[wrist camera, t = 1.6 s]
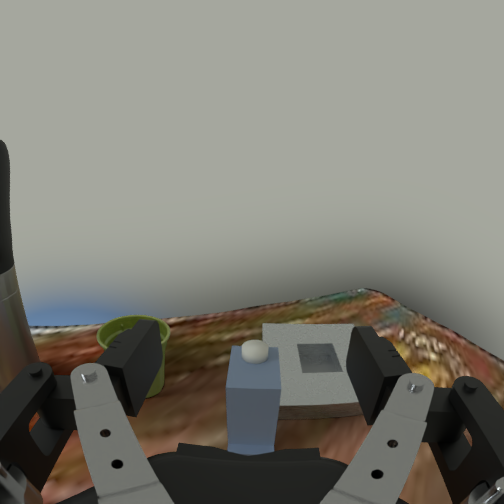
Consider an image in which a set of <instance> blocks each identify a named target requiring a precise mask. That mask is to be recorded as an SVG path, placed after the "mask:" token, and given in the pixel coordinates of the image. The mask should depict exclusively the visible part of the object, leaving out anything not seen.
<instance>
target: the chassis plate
mask: <svg viewBox="0 0 504 504" xmlns="http://www.w3.org/2000/svg"><path fill="white" fill-rule="evenodd" d="M353 327H355V326H354V325H353V324H266V323H263V327H262V341H263V342H265V343H266V344H267V345H268V347H278V351H279V364H280V377H281V397H280V405H279V413H278V419H279V420H283V419H319V418H335V417H347V416H357V415H364V414H363V412H362V409H361V407H360V404H359V401H358V399H357V396H356V394H355V391H354V389H353V386H352V384H351V381H350V378H349V376H348V373H347V370H346V358H347V353H348V348H349V342H350V337H351V332H352V329H353Z"/></svg>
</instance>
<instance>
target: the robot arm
mask: <svg viewBox="0 0 504 504" xmlns="http://www.w3.org/2000/svg"><path fill="white" fill-rule="evenodd" d="M9 196H10V162H9V154H8V150H7V147H6V145H5V143H4V142H3V141H2V140H0V504H43V498H42V496H41V494H40V493H41V491H42V489H43V487H44V485H45V483H46V481H47V479H48V477H49V475H50V473H51V471H52V469H53V467H54V465H55V463H56V461H57V460H58V458H59V456H60V454H61V452H62V450H63V448H64V446H65V445H66V443H67V441H68V439H69V437H70V435H71V434H72V432H73V430H78V433H79V437H80V441H81V445H82V448H83V452H84V455H85V459H86V462H87V465H88V469H89V472H90V475H91V478H92V481H93V484H94V486H93V487H91V488H89V489H87V490H85V491H83V492H81V493H79V494H77V495H74V496H72V497H70V498H68V499H66V500H63V501H61V502H59V503H56V504H409V503H407V502H405V501H404V500H402V499H400V498H399V495H400V493H401V491H402V489H403V486H404V484H405V482H406V480H407V477H408V475H409V473H410V470H411V468H412V465H413V463H414V460H415V457H416V455H417V452H418V449H419V447H420V444H421V442H428V444H429V446H430V448H431V450H432V453H433V455H434V457H435V460H436V462H437V465H438V467H439V469H440V472H441V474H442V477H443V479H444V482H445V484H446V487H447V489H448V492H449V495H450V497H451V500H452V503H453V504H504V410H503V409H502V407H501V406H500V405H499V404H498V402H497V401H496V400H495V398H494V397H493V396H492V394H491V393H490V392H489V391H488V389H487V388H486V387H485V385H484V384H483V383H482V382H481V381H480V380H478V379H476V378H474V377H470V376H462V377H459V378H457V379H456V380H455V381H454V384H453V386H452V388H438V387H434V384H433V382H432V381H431V380H430V379H429V378H427V377H426V376H424V375H421V374H417V373H412V371H411V370H410V368H409V367H408V366H407V364H406V363H405V361H404V360H403V358H402V357H400V354H399V353H398V351H396V348H395V347H394V346H393V344H392V343H391V342H390V341H388V340H387V339H385V338H384V337H379V336H378V335H377V333H376V332H375V330H374V329H373V327H372V326H357V327H353V329H352V332H351V337H350V342H349V348H348V353H347V358H346V370H347V373H348V376H349V378H350V381H351V384H352V386H353V389H354V391H355V394H356V396H357V399H358V401H359V404H360V407H361V409H362V412H363V414H364V417H365V420H366V422H367V425H373V426H372V428H371V430H370V432H369V433H368V435H367V437H366V439H365V440H364V442H363V444H362V445H361V447H360V448H359V450H358V452H357V453H356V455H355V456H354V458H353V460H352V461H351V463H350V464H349V465H347V464H345V463H342V462H340V461H337V460H333V459H329V458H324V457H320V453H319V448H307V449H284V450H279V451H274V452H269V453H263V454H257V455H251V456H247V455H242V454H238V453H234V452H230V451H226V450H222V449H219V448H215V447H211V446H201V445H192V444H185V443H179V444H178V448H177V451H176V452H168V453H162V454H158V455H154V456H151V457H148V458H146V456H145V454H144V452H143V450H142V448H141V446H140V444H139V442H138V440H137V438H136V436H135V434H134V432H133V430H132V428H131V426H130V423H129V421H128V419H127V417H126V415H128V416H132V417H137V414H138V412H139V410H140V408H141V406H142V404H143V402H144V400H145V398H146V396H147V394H148V392H149V390H150V388H151V386H152V384H153V382H154V379H155V377H156V375H157V373H158V371H159V369H160V367H161V365H162V360H163V351H162V344H161V336H160V329H159V323H158V321H156V320H146V319H139V320H138V321H137V323H136V324H135V325H134V326H133V328H132V329H127V330H125V331H123V332H122V333H120V334H118V336H117V337H116V338H115V339H114V340H113V342H112V343H111V344H110V345H109V347H108V348H107V349H106V350H105V351H104V353H103V354H102V355H101V356H100V357H99V359H98V360H97V361H96V362H95V363H87V364H83V365H80V366H78V367H76V368H75V369H74V370H73V371H72V373H71V375H54V373H53V371H52V368H51V366H50V365H49V364H47V363H43V362H40V359H39V356H38V353H37V350H36V347H35V344H34V341H33V338H32V335H31V332H30V328H29V325H28V322H27V318H26V314H25V310H24V306H23V303H22V298H21V294H20V290H19V285H18V281H17V276H16V271H15V265H14V258H13V251H12V234H11V224H10V197H9ZM36 412H37V413H38V415H39V417H40V418H39V419H38V421H37V422H36V424H35V425H34V427H33V428H32V430H31V431H30V432H29V422H30V420H31V419H32V417H33V416H34V415H35V413H36ZM466 428H467V430H468V432H469V433H470V435H471V437H472V448H471V446H470V444H469V442H468V440H467V439H466V437H465V435H464V433H463V432H464V431H465V429H466Z"/></svg>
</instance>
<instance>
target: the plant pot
mask: <svg viewBox="0 0 504 504" xmlns="http://www.w3.org/2000/svg"><path fill="white" fill-rule="evenodd" d="M139 319H146V320H156V321H158V323H159V329H160V336H161V344H162V351H163V360H162V365H161V367H160V369H159V371H158V373H157V375H156V377H155V379H154V382H153V384H152V386H151V388H150V390H149V392H148V394H147V396H146V398H148V397H152V396H154V395H156V394H158V393H159V392H160V391H161V389H162V387H163V385H164V362H165V348H166V345H167V340H168V339H169V336H170V328H169V326H168V325H167V324H166V323H165V322H164V321H162V320H160V319H158V318H155V317H152V316H146V315H129V316H122V317H118V318H115V319H112V320H110V321H108V322H107V323H105V324H104V325H102V326H101V327H100V329H99V330H98V332H97V340H98V343H99V344H100V346H101V347H103V349H104V351H105V350H106V349H107V348H108V347H109V345H110V344H111V343H112V342H113V340H114V339H115V338H116V337H117V336H118V334H120V333H122V332H123V331H125V330H127V329H132V328H133V326H134V325H135V324H136V323H137V321H138V320H139Z"/></svg>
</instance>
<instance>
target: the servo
mask: <svg viewBox="0 0 504 504" xmlns="http://www.w3.org/2000/svg"><path fill="white" fill-rule="evenodd" d="M280 397H281V377H280V364H279V351H278V347H268V345H267V344H266V343H265V342H263V341H260V340H249V341H246V342H245V343H243V345H242V346H232V350H231V356H230V363H229V369H228V376H227V382H226V408H227V429H228V450H227V451H230V452H234V453H238V454H242V455H247V456H251V455H257V454H263V453H269V452H274V442H275V435H276V428H277V420H278V413H279V405H280Z"/></svg>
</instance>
